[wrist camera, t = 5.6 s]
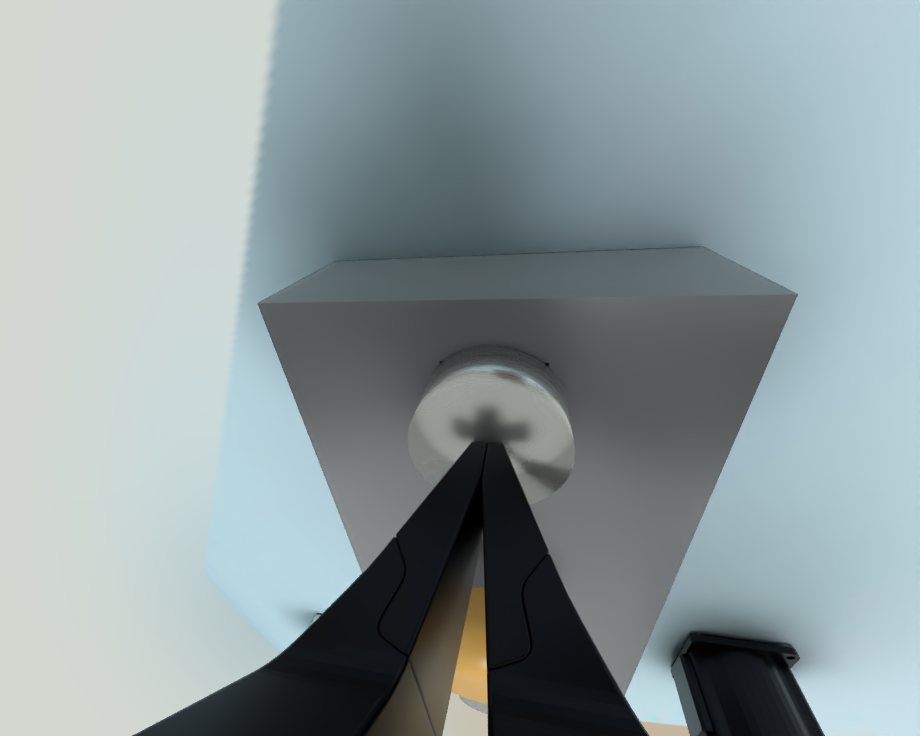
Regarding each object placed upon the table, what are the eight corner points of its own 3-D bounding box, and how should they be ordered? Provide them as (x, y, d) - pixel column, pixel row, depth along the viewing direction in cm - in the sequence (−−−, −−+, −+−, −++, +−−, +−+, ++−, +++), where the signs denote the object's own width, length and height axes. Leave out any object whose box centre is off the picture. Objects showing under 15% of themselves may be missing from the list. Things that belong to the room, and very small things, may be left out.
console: (703, 247, 12) (797, 294, 8) (605, 609, 25) (621, 702, 21) (335, 261, 15) (257, 302, 10) (417, 583, 27) (396, 662, 23)
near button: (563, 305, 12) (584, 386, 8) (555, 408, 14) (567, 515, 10) (438, 307, 13) (394, 381, 8) (449, 404, 15) (418, 501, 11)
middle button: (551, 521, 15) (561, 666, 11) (546, 578, 17) (552, 717, 13) (450, 512, 16) (422, 643, 11) (458, 567, 18) (437, 694, 14)
